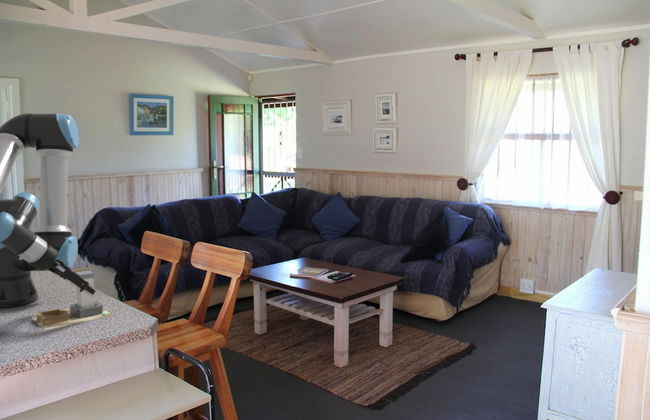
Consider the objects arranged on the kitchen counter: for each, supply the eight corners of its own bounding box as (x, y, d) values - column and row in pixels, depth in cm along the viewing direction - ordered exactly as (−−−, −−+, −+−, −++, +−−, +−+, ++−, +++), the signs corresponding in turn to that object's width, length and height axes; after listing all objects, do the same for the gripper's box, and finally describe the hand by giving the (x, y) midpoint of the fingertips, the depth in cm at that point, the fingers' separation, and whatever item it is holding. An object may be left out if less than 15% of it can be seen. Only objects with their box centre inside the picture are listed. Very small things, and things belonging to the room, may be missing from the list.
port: (69, 312, 178) (68, 304, 178) (94, 307, 184) (94, 299, 183) (80, 320, 171) (79, 312, 171) (106, 314, 176) (106, 307, 176)
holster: (36, 319, 172) (35, 312, 171) (61, 314, 177) (61, 308, 176) (43, 325, 166) (43, 319, 166) (69, 320, 171) (69, 313, 171)
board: (29, 320, 174) (29, 316, 174) (95, 307, 188) (94, 303, 188) (45, 334, 163) (45, 330, 163) (114, 319, 176) (113, 315, 176)
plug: (77, 312, 178) (75, 272, 176) (90, 309, 181) (88, 270, 179) (81, 315, 175) (79, 275, 173) (95, 313, 178) (93, 272, 176)
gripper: (17, 256, 174) (71, 294, 186) (42, 271, 156) (99, 312, 168) (35, 237, 177) (86, 276, 189) (61, 250, 159) (116, 292, 171)
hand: (92, 293), depth 179 cm, fingers open, 13 cm apart
